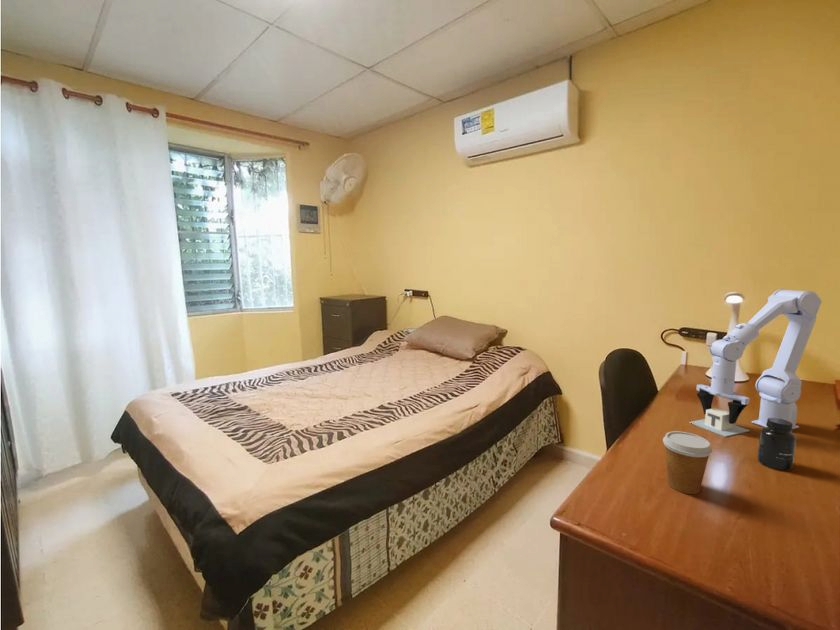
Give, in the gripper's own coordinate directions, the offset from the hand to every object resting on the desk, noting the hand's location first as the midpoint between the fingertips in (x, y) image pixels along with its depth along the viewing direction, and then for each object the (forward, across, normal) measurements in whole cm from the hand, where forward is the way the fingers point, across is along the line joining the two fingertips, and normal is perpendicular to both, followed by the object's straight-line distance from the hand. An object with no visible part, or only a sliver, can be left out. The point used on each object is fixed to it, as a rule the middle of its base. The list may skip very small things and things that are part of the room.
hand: (719, 418), depth 121 cm
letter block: (+3, 0, 0) cm, 3 cm away
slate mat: (+3, 0, 0) cm, 3 cm away
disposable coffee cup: (+3, +20, -42) cm, 46 cm away
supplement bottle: (+3, +20, -10) cm, 23 cm away
